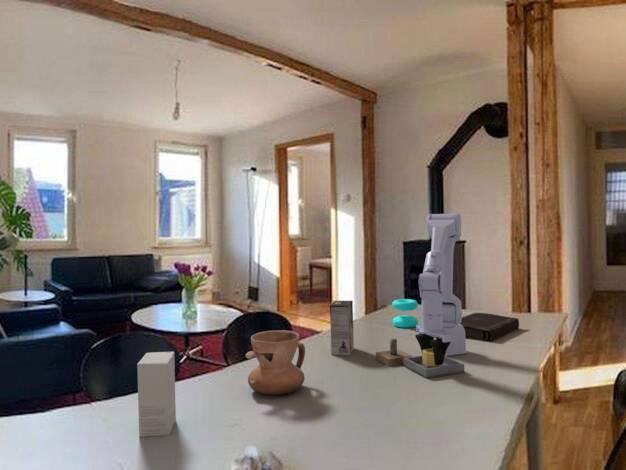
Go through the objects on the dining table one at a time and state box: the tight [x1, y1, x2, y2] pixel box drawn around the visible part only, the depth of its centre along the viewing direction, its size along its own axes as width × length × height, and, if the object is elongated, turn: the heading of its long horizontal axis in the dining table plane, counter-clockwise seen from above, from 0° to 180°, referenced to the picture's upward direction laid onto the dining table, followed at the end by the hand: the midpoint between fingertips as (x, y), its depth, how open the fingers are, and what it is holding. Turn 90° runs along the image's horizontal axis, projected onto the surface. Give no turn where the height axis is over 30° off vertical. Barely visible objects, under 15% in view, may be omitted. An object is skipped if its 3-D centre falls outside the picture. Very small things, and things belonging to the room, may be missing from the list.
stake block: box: [375, 338, 413, 367], centre depth 151 cm, size 8×8×6 cm
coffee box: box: [329, 300, 355, 356], centre depth 163 cm, size 9×6×16 cm
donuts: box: [391, 298, 419, 329], centre depth 198 cm, size 10×10×10 cm
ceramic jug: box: [244, 329, 306, 396], centre depth 129 cm, size 18×14×14 cm
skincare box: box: [136, 351, 177, 438], centre depth 107 cm, size 8×7×16 cm
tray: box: [402, 355, 465, 379], centre depth 142 cm, size 12×12×2 cm
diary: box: [460, 312, 520, 343], centre depth 185 cm, size 19×25×5 cm
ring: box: [421, 348, 440, 366], centre depth 142 cm, size 5×5×4 cm
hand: (432, 361), depth 142 cm, fingers closed on ring, 5 cm apart
